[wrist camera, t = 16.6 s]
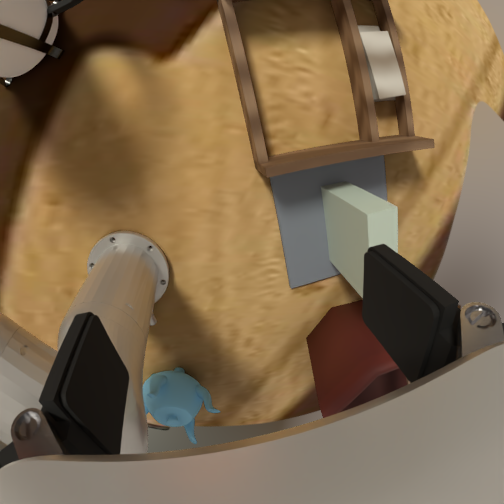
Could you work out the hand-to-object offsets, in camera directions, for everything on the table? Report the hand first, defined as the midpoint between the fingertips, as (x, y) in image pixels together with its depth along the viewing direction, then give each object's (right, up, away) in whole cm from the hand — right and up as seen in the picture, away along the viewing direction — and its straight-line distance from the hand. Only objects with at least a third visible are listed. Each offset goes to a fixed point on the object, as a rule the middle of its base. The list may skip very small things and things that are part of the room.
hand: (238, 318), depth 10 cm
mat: (+13, +7, +35) cm, 38 cm away
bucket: (+18, -14, +45) cm, 51 cm away
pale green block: (+13, +7, +34) cm, 37 cm away
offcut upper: (+18, +29, +24) cm, 42 cm away
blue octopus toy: (-15, -23, +43) cm, 51 cm away
